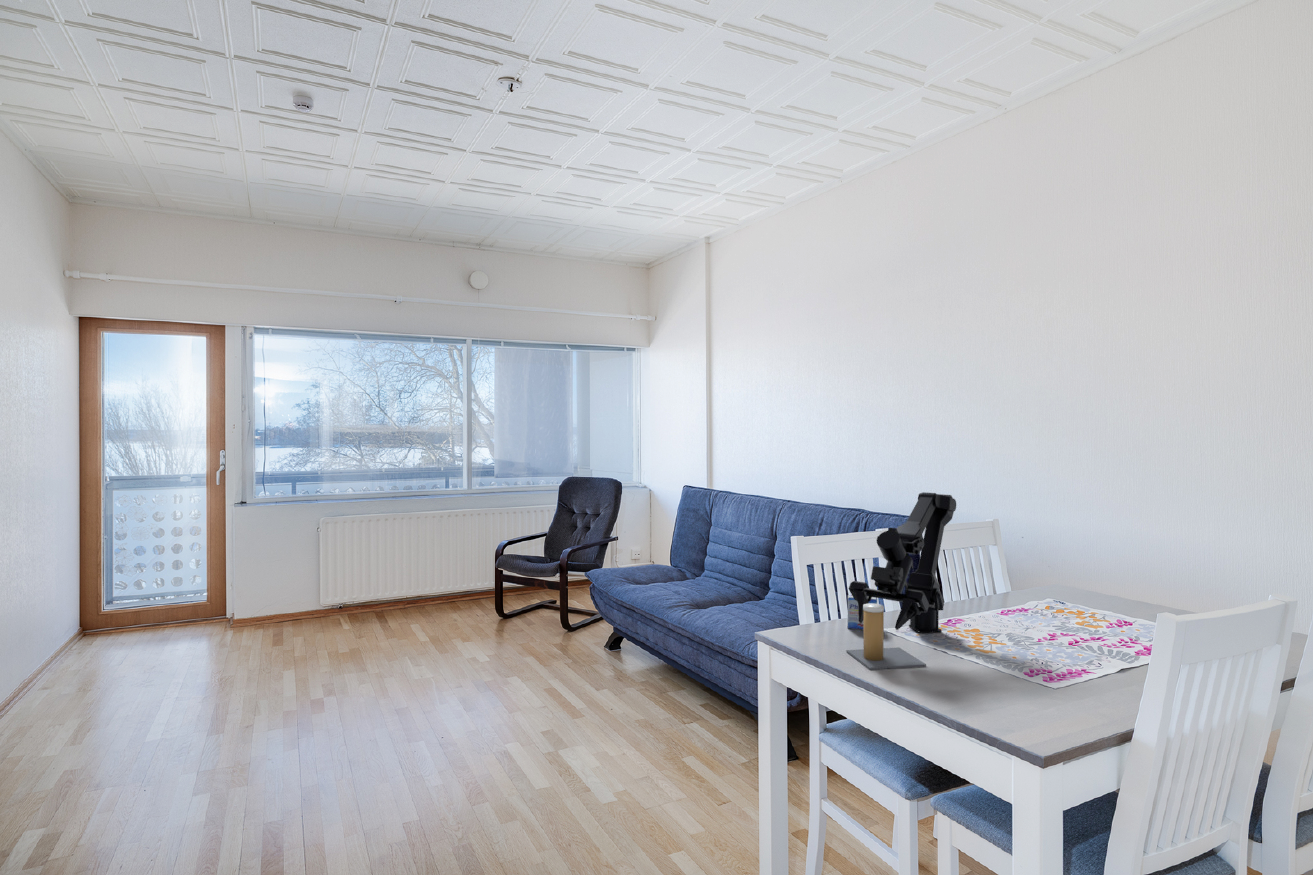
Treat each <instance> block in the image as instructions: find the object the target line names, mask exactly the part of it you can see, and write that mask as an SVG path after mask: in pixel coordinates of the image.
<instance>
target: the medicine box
mask: <svg viewBox="0 0 1313 875" xmlns="http://www.w3.org/2000/svg"><path fill="white" fill-rule="evenodd" d="M869 603H873V604H878V598H875V597H872V598H871V601H869ZM847 629H848V630H849V629H850V630H851V629H852V630H864V620H863V621H862V623H860V622H859V612H858V602H857V601H856V600H855V599H854V598H853V596H852V594H848V595H847Z"/></svg>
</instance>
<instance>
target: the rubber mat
mask: <svg viewBox="0 0 1313 875" xmlns="http://www.w3.org/2000/svg"><path fill="white" fill-rule="evenodd" d="M845 652H846V654H848V655H849V656H851V657H852V658H853V659H855V660H856V661H857V662H858V663H860V664H862V665H863V666H864V667H865V668H866V669H868V670H870V671H872V670H873V671H874V670H888V669H887V668H892V669H903V668H904V669H906V668H909V669H910V668H923V667H927V663H924V661H922V660H920V659H919V658H917V657H916V656H914V655H912V654H910V652H908V651H906V650H904V649H902V648H901V647H898V646H897V647H883V660H880V661H872V660H867V659H865V658H864V657H863V653H864V648H861V649H847V650H846V651H845Z"/></svg>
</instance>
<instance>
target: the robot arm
mask: <svg viewBox="0 0 1313 875" xmlns="http://www.w3.org/2000/svg"><path fill="white" fill-rule="evenodd" d="M916 501H917V502H916V504H915V505H914V507H913V509H912V510H911V513H910V514H909V516H908V518H907V520H906V522H904V523H903V524H901V525H898V526H897V527H888V529H887V530H886V531H883V532H882V533H880V534H879V535H878V536H877V538H876V544H877V546H878V548H879V550H880V553H881V555H882V556H883V559H885V560H886V561H887V562H886V566H885V567H881V566H876V565H875V566H874V565H873V566H872V570H871V575H870V580H873V581H874V584H873V585H874V586H875V587H876V588H877V589H874V588H870V587H869V585H868V583H867V582H864V581H857V580H853V581H851V582H850V583H849V586H848V590H849V593H850V595H852V596H853V598H854V599H855V600H856V601H857V602H858V612H859V622H860V623H862V621H863V620H864V610H863V605H864V604H869V601H871V598H872V597H875V598H877V599H882V600H883V599H884V600H887V601H893V602H899V603H902V606H901V609H900V612H899V614H898V617H897V618H896V619H897V620H896V622H895V626H894V628H895V630H896V631H898V630H900V629H901V628H902V627H903V626H904V625H905V624H906V623H907V622H908V621H909V624H908V627H909V628H911V629H912V630H914V631H916V632H918V633H920V634H924V633H942V631H943V630H942V629H941V628H939V612H940V611H944V606H945V599H944V597H943V595H942V592H941V590H940V583H939V581H938V578H937V576H936V575H937V574H936V573H937V567H938V562H939V557H940V551H941V545H942V542H943V535H944V530H945V529H944V528H945V526H946V525H947V524H949V522H951V521H952V520H953V516H954V513H955V511H956V509H957V501H956V499H955V498H953V496H952V494H943V493H942V494H940V493H937V492H921V493H918V497H917V500H916ZM923 535H924V536H923ZM919 554H920V556H919V561H918V566H917V569H915V571H914V572H910V570H912V569H914V564H913V561H914V560H913V558H912V556H911V555H919ZM907 579H908V581H907ZM904 589H905V590H904ZM903 591H904V593H903Z"/></svg>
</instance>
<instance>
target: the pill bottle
mask: <svg viewBox="0 0 1313 875" xmlns="http://www.w3.org/2000/svg"><path fill="white" fill-rule="evenodd" d="M863 610H864V629H863V649H864V653H863V657H864V658H865V659H867V660H872V661H880V660H883V648H884V630H885V628H884V626H885V625H884V622H885V621H884V620H885V619H884V616H885V615H884V612H885V605H883V604H880V603H877V604H873V603H869V604H864V605H863Z"/></svg>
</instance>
